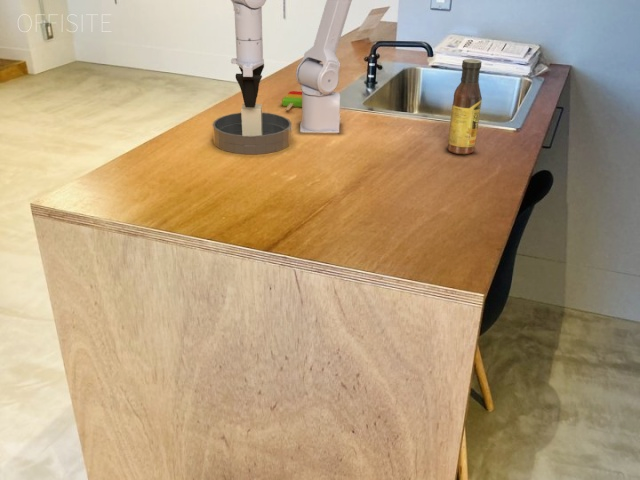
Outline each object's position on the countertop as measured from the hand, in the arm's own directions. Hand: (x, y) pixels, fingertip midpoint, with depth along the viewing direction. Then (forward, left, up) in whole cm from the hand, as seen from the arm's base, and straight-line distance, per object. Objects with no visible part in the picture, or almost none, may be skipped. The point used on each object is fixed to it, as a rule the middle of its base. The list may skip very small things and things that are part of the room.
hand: (251, 102), depth 154 cm
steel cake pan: (0, 0, -9) cm, 9 cm away
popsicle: (-9, -31, -10) cm, 34 cm away
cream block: (0, 0, -9) cm, 9 cm away
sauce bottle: (-48, +4, -10) cm, 49 cm away
